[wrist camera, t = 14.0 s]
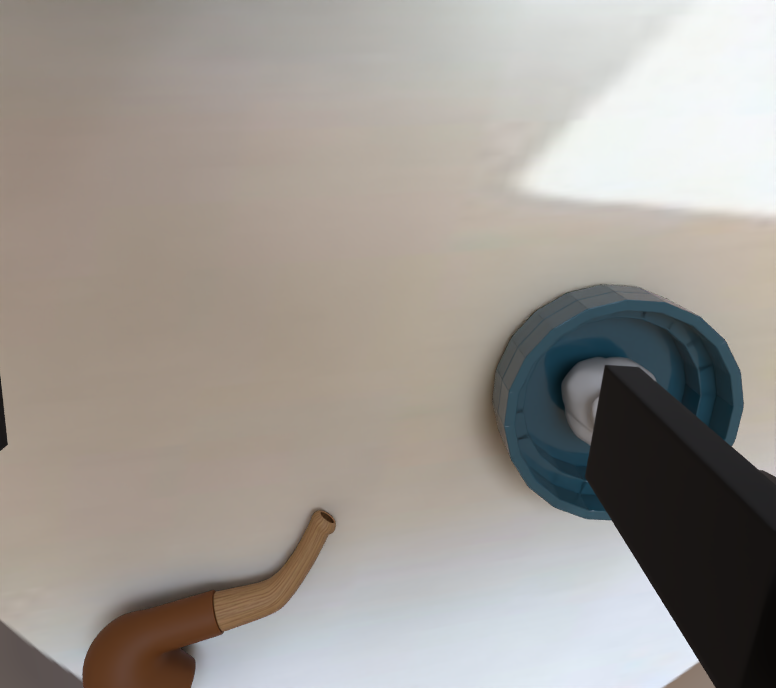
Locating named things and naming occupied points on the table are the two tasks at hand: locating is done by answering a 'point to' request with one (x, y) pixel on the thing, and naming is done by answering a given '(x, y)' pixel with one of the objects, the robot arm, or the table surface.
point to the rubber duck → (587, 392)
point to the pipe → (193, 623)
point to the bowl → (604, 339)
